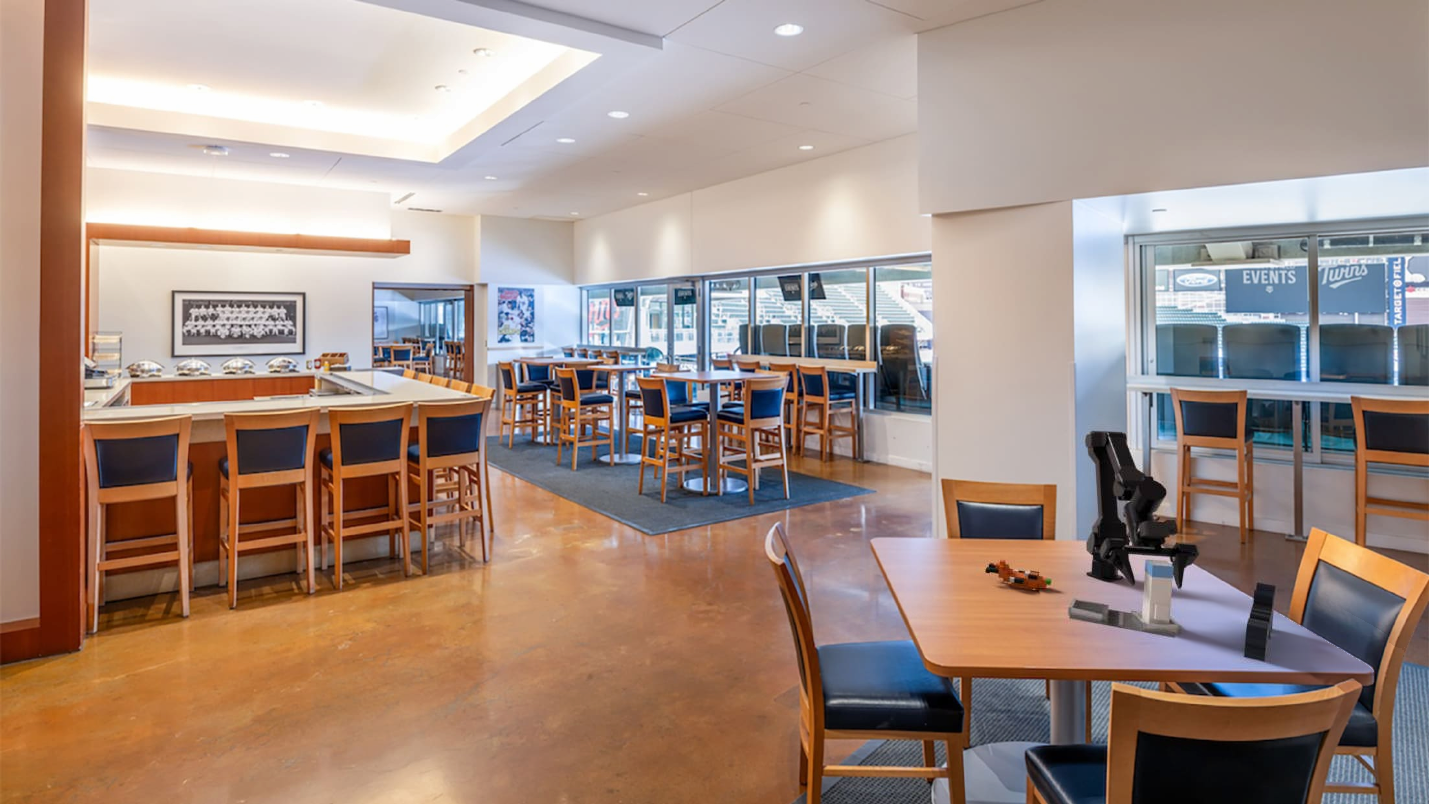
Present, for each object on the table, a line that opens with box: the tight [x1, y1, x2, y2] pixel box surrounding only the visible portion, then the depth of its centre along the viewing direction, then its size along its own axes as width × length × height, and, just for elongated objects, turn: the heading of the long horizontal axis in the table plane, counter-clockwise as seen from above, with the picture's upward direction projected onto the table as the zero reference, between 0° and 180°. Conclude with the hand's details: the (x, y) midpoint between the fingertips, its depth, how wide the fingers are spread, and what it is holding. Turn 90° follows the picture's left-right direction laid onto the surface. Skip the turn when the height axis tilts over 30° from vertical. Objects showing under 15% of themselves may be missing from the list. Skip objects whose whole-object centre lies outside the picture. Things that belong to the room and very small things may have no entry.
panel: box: [1069, 607, 1176, 639], centre depth 162 cm, size 20×11×1 cm, turn 60°
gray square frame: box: [1130, 610, 1182, 635], centre depth 159 cm, size 7×7×2 cm
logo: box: [1243, 582, 1276, 662], centre depth 151 cm, size 24×3×10 cm, turn 140°
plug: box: [1141, 559, 1174, 624], centre depth 158 cm, size 5×4×14 cm
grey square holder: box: [1067, 598, 1110, 622], centre depth 166 cm, size 7×7×2 cm
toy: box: [985, 558, 1052, 591], centre depth 185 cm, size 8×6×15 cm
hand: (1156, 586), depth 159 cm, fingers open, 9 cm apart
